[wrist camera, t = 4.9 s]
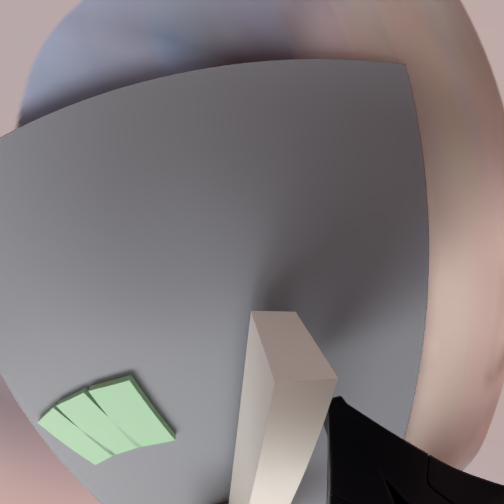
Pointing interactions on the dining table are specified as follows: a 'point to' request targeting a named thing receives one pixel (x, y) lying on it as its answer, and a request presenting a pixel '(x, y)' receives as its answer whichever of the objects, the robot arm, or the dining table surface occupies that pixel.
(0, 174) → the dial plate
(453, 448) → the dining table surface
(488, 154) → the dining table surface
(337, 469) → the robot arm
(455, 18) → the dining table surface
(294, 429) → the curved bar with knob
